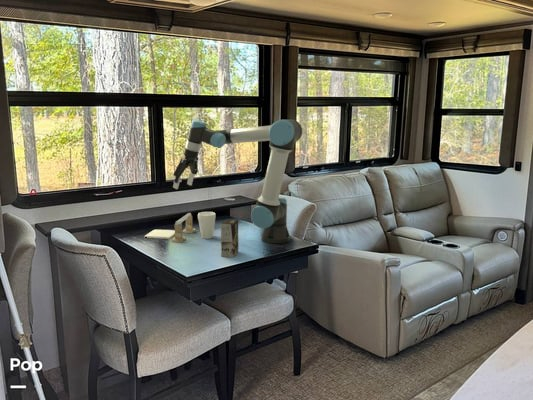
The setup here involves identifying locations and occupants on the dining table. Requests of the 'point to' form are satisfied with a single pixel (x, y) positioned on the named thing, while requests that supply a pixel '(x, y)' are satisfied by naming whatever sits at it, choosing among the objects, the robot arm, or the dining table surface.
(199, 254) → the dining table surface
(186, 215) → the steel bar
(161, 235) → the cream pad
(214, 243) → the dining table surface
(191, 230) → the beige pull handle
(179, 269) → the dining table surface
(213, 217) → the foam cup
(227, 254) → the coffee box
